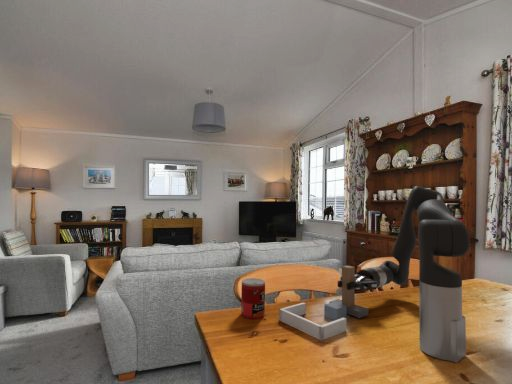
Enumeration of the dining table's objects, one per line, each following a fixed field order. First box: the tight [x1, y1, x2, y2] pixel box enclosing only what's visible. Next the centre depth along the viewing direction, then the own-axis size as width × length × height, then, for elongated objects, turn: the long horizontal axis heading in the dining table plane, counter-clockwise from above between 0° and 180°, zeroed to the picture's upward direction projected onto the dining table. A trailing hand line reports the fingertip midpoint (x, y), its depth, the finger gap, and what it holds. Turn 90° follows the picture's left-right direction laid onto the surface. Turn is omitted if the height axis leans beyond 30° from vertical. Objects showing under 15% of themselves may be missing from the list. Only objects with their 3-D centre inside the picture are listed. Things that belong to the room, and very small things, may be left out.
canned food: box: [240, 277, 266, 320], centre depth 97 cm, size 8×8×11 cm
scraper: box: [328, 265, 369, 319], centre depth 101 cm, size 12×5×15 cm, turn 37°
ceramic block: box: [323, 302, 347, 321], centre depth 96 cm, size 5×5×4 cm
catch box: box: [278, 302, 347, 342], centre depth 89 cm, size 17×11×4 cm, turn 37°
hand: (343, 285), depth 99 cm, fingers closed on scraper, 3 cm apart
